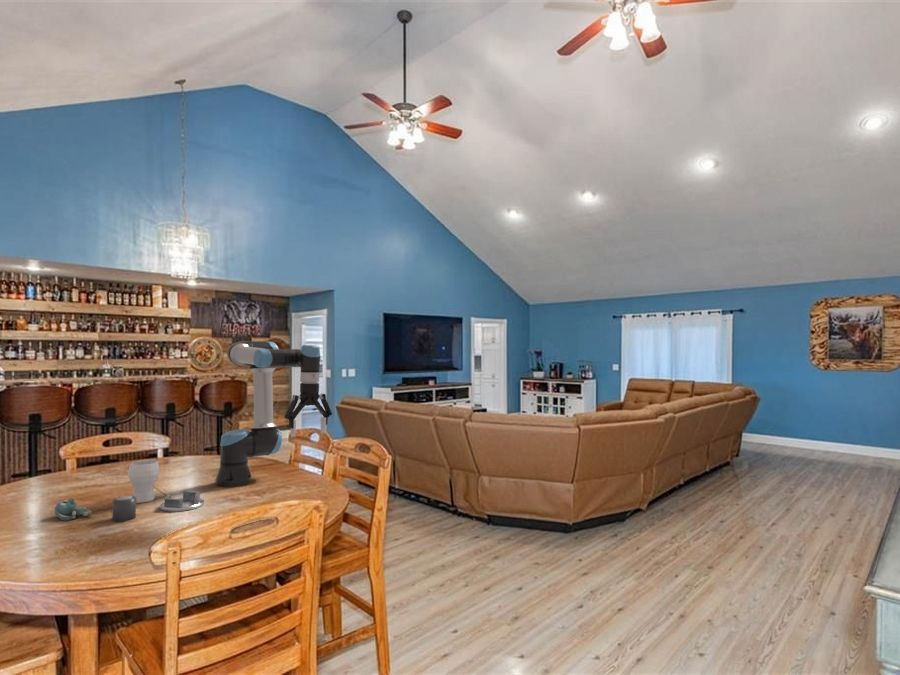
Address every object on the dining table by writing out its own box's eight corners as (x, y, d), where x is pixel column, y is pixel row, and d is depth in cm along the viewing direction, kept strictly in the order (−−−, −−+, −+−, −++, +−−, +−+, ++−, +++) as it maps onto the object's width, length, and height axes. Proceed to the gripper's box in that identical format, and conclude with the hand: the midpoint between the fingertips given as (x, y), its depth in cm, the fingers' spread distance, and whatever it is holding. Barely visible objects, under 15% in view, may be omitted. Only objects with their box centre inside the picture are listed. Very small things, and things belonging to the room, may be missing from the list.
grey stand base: (153, 506, 196) (153, 495, 196) (193, 497, 207) (193, 487, 207) (170, 514, 186) (170, 503, 186) (211, 505, 198) (211, 494, 198)
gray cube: (109, 518, 181) (109, 497, 181) (131, 514, 186) (131, 493, 186) (116, 523, 176) (117, 501, 176) (138, 518, 182) (139, 497, 182)
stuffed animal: (80, 506, 177) (47, 499, 177) (76, 527, 177) (42, 519, 177) (102, 497, 188) (70, 490, 188) (97, 516, 188) (66, 510, 188)
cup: (164, 497, 207) (165, 460, 207) (141, 505, 197) (142, 466, 197) (145, 495, 210) (146, 458, 210) (121, 502, 200) (122, 463, 200)
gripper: (285, 384, 197) (284, 439, 197) (341, 382, 215) (339, 432, 214) (276, 383, 203) (275, 436, 202) (331, 381, 220) (330, 430, 220)
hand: (308, 434), depth 208 cm, fingers open, 13 cm apart
